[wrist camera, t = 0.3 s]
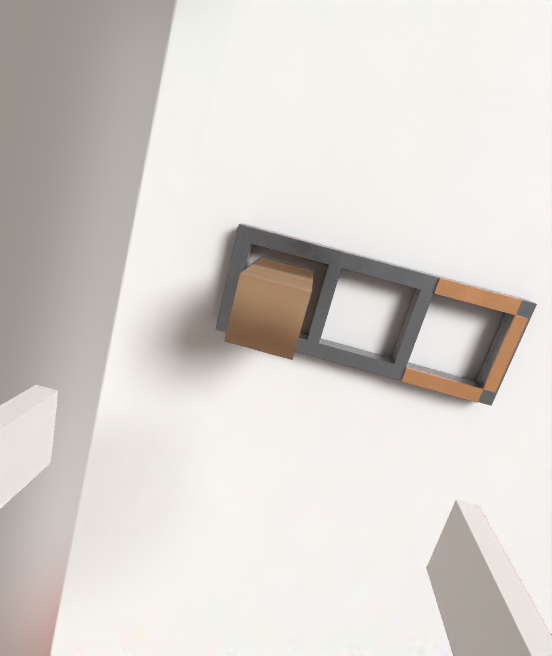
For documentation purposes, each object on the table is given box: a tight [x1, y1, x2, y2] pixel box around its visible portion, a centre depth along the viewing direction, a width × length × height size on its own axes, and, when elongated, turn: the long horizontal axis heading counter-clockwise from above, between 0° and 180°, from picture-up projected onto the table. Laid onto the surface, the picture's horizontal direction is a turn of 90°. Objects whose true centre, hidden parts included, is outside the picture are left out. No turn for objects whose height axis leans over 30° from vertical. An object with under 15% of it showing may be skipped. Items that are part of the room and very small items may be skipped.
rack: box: [216, 224, 537, 405], centre depth 34 cm, size 9×24×2 cm, turn 76°
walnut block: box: [225, 257, 314, 360], centre depth 31 cm, size 4×4×10 cm
